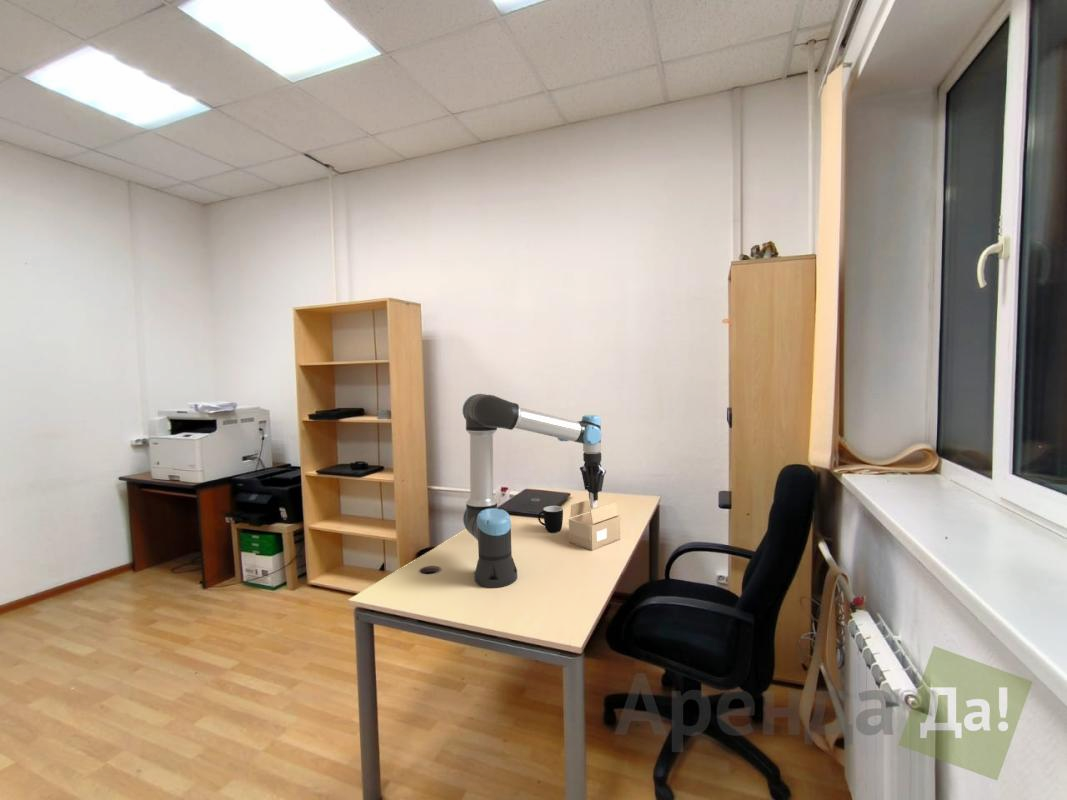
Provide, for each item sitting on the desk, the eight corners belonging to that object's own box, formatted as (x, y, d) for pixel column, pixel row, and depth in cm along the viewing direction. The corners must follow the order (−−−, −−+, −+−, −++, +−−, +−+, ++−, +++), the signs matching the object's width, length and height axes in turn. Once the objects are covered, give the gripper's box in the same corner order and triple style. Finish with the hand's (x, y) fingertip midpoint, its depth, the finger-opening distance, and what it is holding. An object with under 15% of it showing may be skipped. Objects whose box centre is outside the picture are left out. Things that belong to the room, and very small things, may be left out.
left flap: (572, 505, 195) (571, 504, 195) (570, 517, 196) (570, 517, 196) (597, 497, 205) (596, 497, 205) (596, 509, 206) (595, 509, 206)
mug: (566, 528, 214) (565, 506, 213) (559, 535, 206) (558, 512, 205) (542, 525, 219) (541, 504, 218) (534, 531, 211) (533, 509, 210)
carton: (591, 551, 186) (590, 526, 185) (568, 542, 196) (567, 519, 195) (621, 539, 198) (620, 515, 197) (598, 531, 208) (597, 509, 207)
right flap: (592, 523, 187) (592, 524, 186) (590, 510, 187) (590, 510, 187) (617, 515, 197) (618, 515, 196) (615, 502, 197) (616, 502, 197)
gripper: (610, 452, 192) (611, 508, 194) (586, 449, 202) (588, 502, 204) (597, 455, 187) (599, 512, 189) (574, 451, 197) (576, 506, 199)
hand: (593, 507), depth 196 cm, fingers closed
